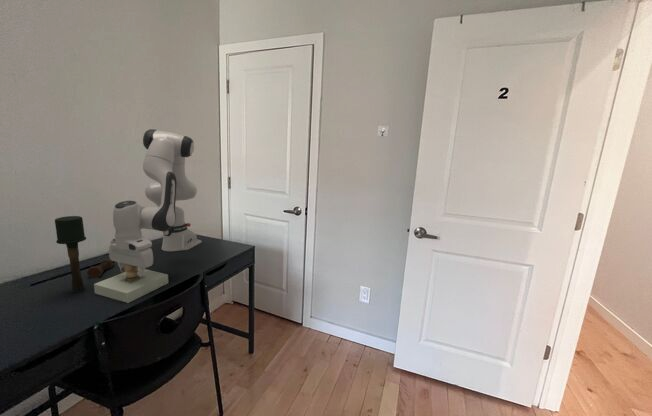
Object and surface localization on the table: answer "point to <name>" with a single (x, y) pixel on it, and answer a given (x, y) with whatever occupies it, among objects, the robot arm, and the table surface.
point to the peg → (131, 272)
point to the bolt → (100, 268)
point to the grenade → (72, 245)
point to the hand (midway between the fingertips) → (132, 273)
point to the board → (130, 285)
